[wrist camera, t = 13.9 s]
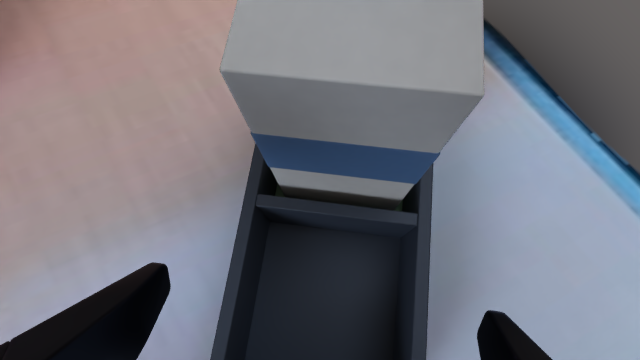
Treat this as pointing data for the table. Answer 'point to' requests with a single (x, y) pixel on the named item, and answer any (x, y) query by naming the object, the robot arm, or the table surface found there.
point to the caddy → (326, 277)
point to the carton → (354, 90)
